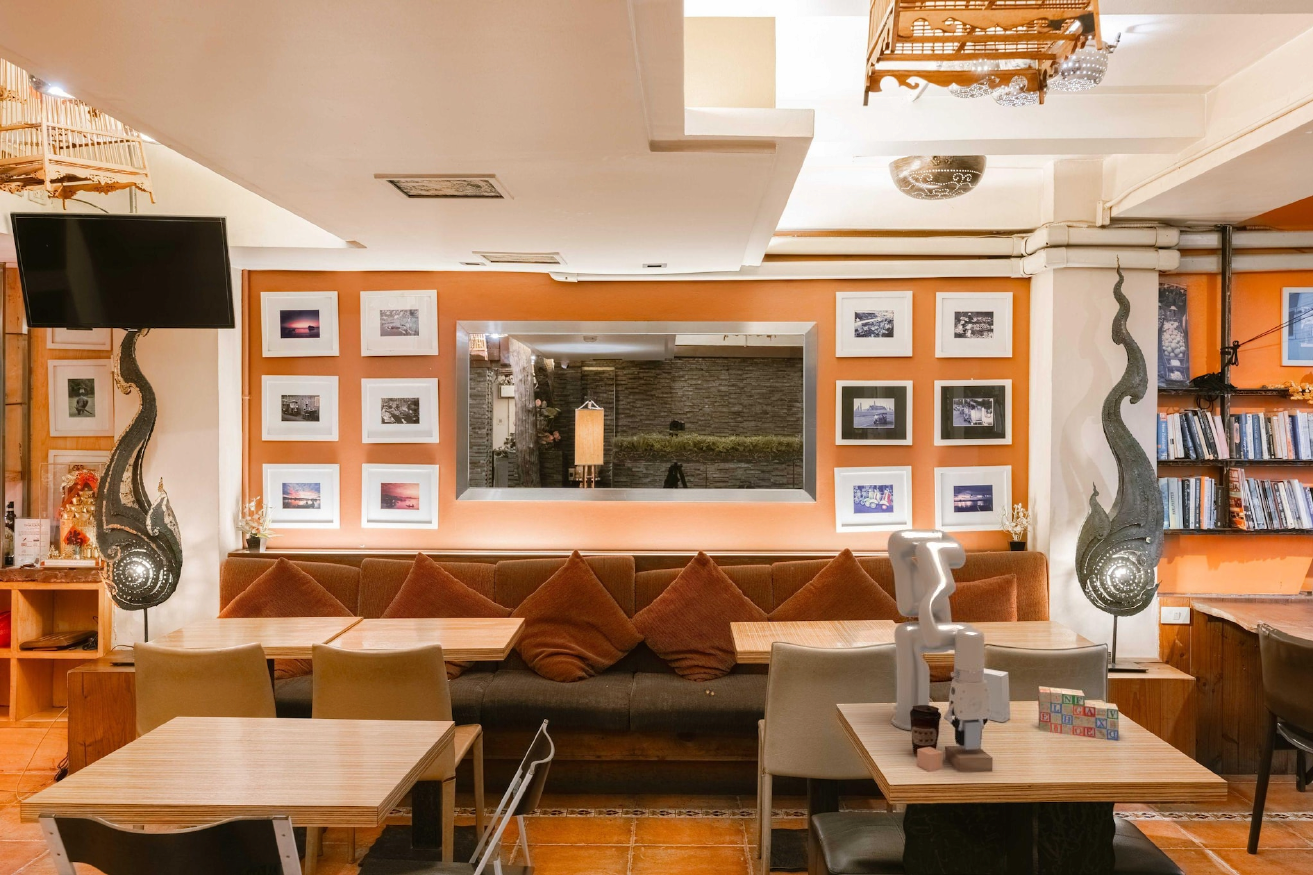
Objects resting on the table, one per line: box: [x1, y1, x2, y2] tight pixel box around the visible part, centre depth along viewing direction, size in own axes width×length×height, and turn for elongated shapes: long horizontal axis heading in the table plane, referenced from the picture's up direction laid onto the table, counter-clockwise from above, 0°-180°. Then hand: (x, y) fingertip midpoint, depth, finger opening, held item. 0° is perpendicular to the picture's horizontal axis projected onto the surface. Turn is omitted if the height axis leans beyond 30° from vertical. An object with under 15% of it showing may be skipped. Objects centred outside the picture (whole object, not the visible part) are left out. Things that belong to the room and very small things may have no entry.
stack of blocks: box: [1037, 685, 1120, 741], centre depth 255 cm, size 21×6×12 cm, turn 68°
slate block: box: [955, 720, 982, 750], centre depth 227 cm, size 4×4×7 cm
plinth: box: [944, 745, 993, 773], centre depth 227 cm, size 9×9×4 cm
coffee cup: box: [910, 704, 942, 756], centre depth 235 cm, size 9×8×13 cm
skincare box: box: [984, 667, 1011, 723], centre depth 268 cm, size 8×6×15 cm
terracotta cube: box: [916, 747, 943, 772], centre depth 226 cm, size 4×4×4 cm
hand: (968, 742), depth 227 cm, fingers closed on slate block, 4 cm apart
